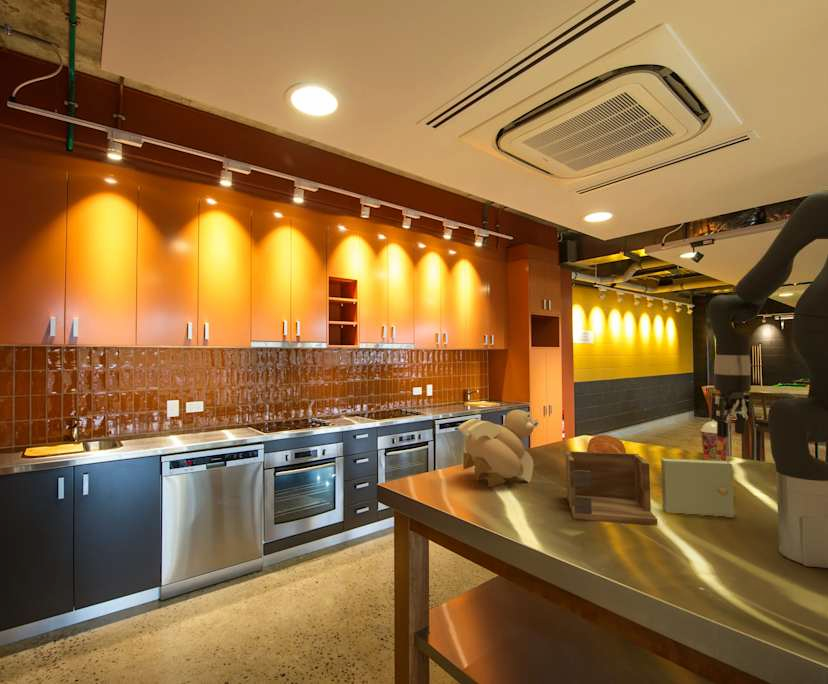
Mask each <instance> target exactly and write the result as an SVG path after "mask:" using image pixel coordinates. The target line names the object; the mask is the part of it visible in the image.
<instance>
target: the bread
mask: <svg viewBox="0 0 828 684" xmlns="http://www.w3.org/2000/svg"><path fill="white" fill-rule="evenodd" d="M586 452H601V453H626V454H627V450H626V447H625V444H624V442H623V441H622V440H621V439H619V438H618V437H614V436H612V435H608V434H601V435H596V436H593V437H592V438H590V440H589V441H588V444H587V449H586Z"/></svg>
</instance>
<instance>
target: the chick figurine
mask: <svg viewBox="0 0 828 684" xmlns="http://www.w3.org/2000/svg"><path fill="white" fill-rule="evenodd" d="M531 413H532V412H530V411H527V412H526V411H524V410H522V409H514V410H511V411H509V412H508V413H507V414H506V416H505V417H504V421H503V425H504V426H503V425H501V424H496V423H493V422H492V421H487V420H481V419H478V418H472V419H471V418H470V419H469V420H466V421H464V422H463V423H461V424H460V425H459V426H457V429H458V431H460V432H461V434H462V435H464V436H465V437H466V438H465V442H464V446H465V451H466V452H464V451H463V458H462V459H463V467H462V468H463V470H468V469H469V468H472V467H474V476H476V482H478V481H481V480H485V479H487V478H488V479H487V480H488V488H492V487H494V486H497V485H500V484H502V483H506V482H507V481H506V479H510V478H514V477H517V478H520V479H522V480H523V481H524V482H528V483H530V482H531V480H532V477H533V470H534V459H533V457H532V455H530V452H528V451H527V450H526V449H525V446H524V444H523V442H522V440H521V439H525V438H528V437H529V436H531V435H532V433H533V432H534V428H538V426H539V420H538V419H534V420H533V418H532V414H531Z"/></svg>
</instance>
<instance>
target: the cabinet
mask: <svg viewBox="0 0 828 684" xmlns="http://www.w3.org/2000/svg"><path fill="white" fill-rule="evenodd" d="M564 453H565V454H564V455H565V456H564V457H565V491H566V493H565V497H566V500H567V504H568V507H569V510H570V512H571V516H572V518H573V519H575V520H584V521H585V520H586V521H599V522H613V523H623V524H625V523H626V524H627V523H628V524H636V525H637V523H638V525H649V524H658V518H657V516H655V515H654V513H653V512H652V506H651V479H650V478H651V477H650V476H651V475H650V473H651V472H650V463H649V462H648V461H646V460H645V459H644V458H643V457H642V456H640V455H639V454H638V453H627V452H626V453H601V452H587V451H574V450H573V451H572V450H571V451H570V450H565V451H564Z"/></svg>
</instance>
